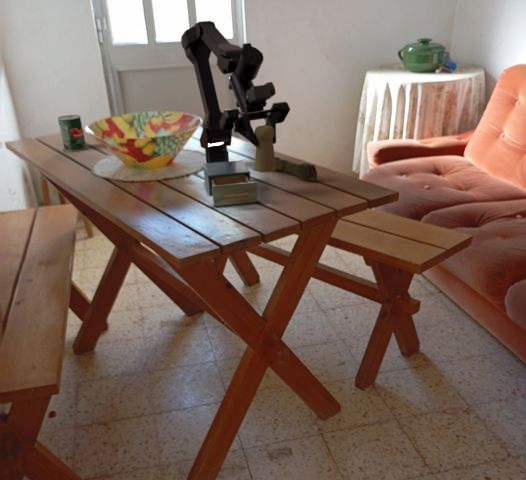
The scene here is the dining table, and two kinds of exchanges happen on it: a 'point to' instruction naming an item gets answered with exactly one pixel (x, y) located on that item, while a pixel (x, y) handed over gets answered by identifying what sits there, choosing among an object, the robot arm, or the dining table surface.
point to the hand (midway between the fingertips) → (266, 144)
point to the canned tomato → (72, 132)
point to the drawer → (233, 190)
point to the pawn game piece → (265, 149)
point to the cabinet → (223, 171)
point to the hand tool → (297, 169)
